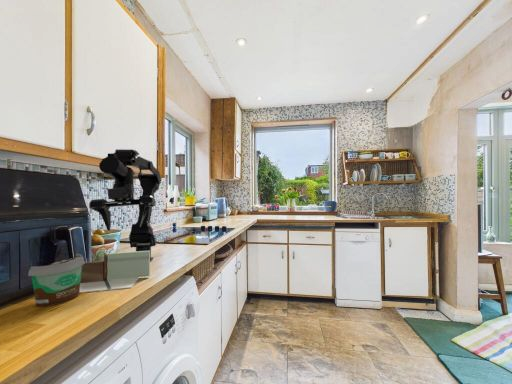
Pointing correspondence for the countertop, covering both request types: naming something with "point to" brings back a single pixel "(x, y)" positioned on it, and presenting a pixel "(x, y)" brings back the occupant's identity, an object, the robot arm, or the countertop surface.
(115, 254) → the gate panel
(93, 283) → the card
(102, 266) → the fixed fence
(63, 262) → the food container
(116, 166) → the robot arm
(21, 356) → the countertop surface
